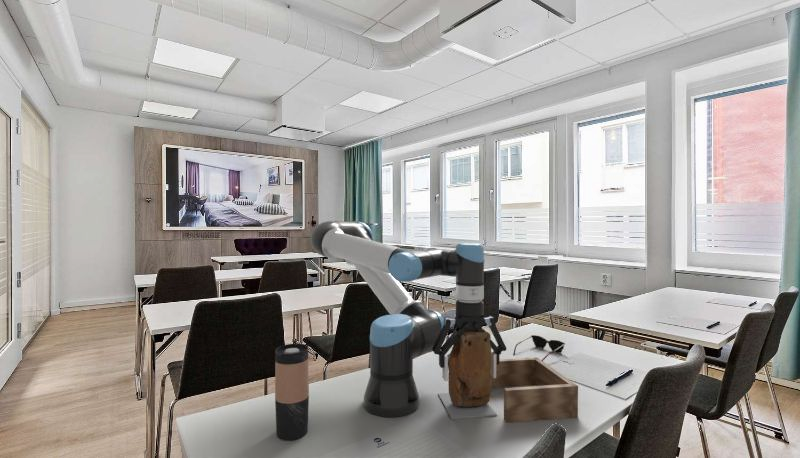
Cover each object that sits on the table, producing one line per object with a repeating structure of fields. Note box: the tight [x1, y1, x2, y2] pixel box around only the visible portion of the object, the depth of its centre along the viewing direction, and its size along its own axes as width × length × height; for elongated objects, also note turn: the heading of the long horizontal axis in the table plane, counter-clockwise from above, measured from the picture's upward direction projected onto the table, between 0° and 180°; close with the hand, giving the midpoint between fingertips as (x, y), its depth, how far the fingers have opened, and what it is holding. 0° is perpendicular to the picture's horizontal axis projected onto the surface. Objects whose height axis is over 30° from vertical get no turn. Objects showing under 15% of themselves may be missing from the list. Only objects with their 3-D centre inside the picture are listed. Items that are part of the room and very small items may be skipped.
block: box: [447, 327, 492, 407], centre depth 105 cm, size 11×8×20 cm
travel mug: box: [274, 343, 310, 442], centre depth 91 cm, size 8×8×20 cm
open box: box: [491, 357, 579, 424], centre depth 108 cm, size 19×21×8 cm
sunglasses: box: [512, 334, 566, 362], centre depth 146 cm, size 14×16×5 cm
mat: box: [437, 392, 498, 420], centre depth 105 cm, size 12×14×1 cm
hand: (469, 377), depth 105 cm, fingers open, 13 cm apart
